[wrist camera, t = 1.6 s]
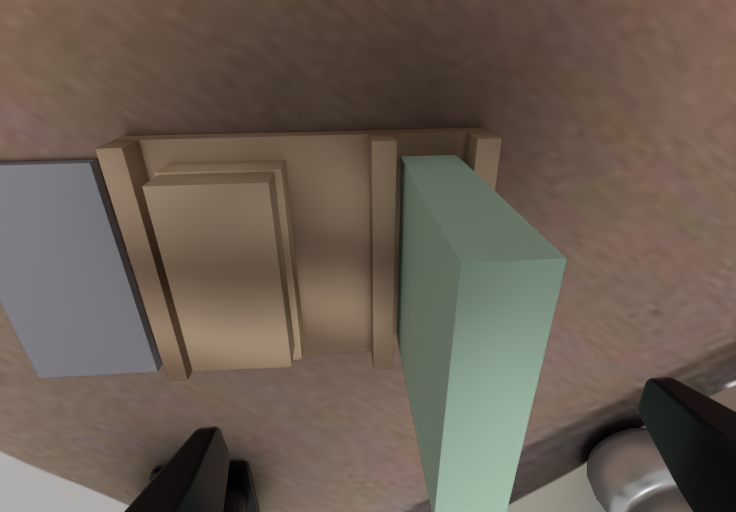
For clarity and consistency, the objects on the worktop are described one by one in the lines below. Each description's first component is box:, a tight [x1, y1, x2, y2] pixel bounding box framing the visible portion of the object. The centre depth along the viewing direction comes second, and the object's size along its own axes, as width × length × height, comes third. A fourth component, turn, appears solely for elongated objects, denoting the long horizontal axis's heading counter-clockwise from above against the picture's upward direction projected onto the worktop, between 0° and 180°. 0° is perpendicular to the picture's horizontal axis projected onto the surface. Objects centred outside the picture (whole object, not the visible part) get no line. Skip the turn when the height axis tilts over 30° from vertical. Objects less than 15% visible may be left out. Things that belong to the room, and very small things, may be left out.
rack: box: [95, 127, 502, 381], centre depth 20 cm, size 12×16×2 cm
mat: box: [0, 159, 162, 378], centre depth 21 cm, size 12×6×1 cm, turn 0°
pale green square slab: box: [396, 155, 567, 512], centre depth 16 cm, size 10×2×10 cm, turn 0°
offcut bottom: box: [155, 160, 304, 360], centre depth 19 cm, size 10×5×2 cm, turn 0°
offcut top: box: [142, 172, 295, 372], centre depth 18 cm, size 9×5×2 cm, turn 0°
